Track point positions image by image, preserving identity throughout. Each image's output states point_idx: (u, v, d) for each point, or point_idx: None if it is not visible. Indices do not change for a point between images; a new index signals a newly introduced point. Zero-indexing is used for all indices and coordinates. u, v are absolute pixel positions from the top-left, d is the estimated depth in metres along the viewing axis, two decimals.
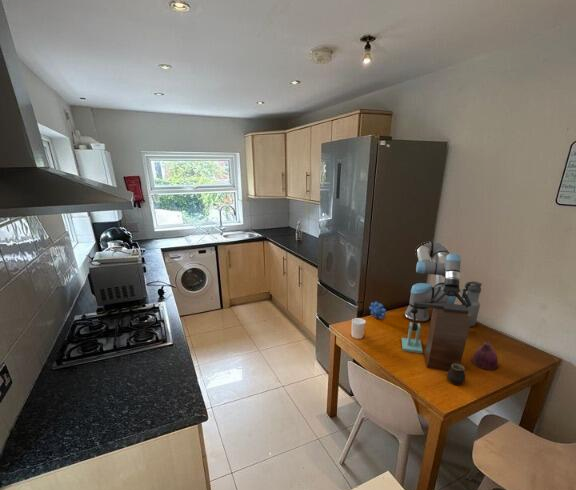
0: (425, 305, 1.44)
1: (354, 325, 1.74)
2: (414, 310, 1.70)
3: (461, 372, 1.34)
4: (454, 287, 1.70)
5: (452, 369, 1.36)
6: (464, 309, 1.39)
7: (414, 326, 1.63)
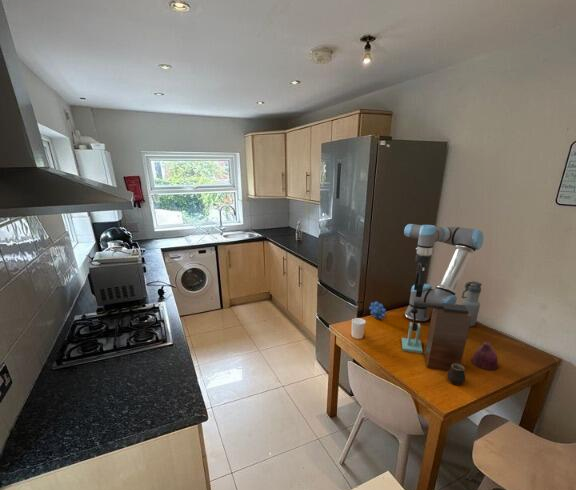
0: (425, 305, 1.44)
1: (354, 325, 1.74)
2: (414, 310, 1.70)
3: (461, 372, 1.34)
4: (420, 263, 1.61)
5: (452, 369, 1.36)
6: (464, 309, 1.39)
7: (414, 326, 1.63)
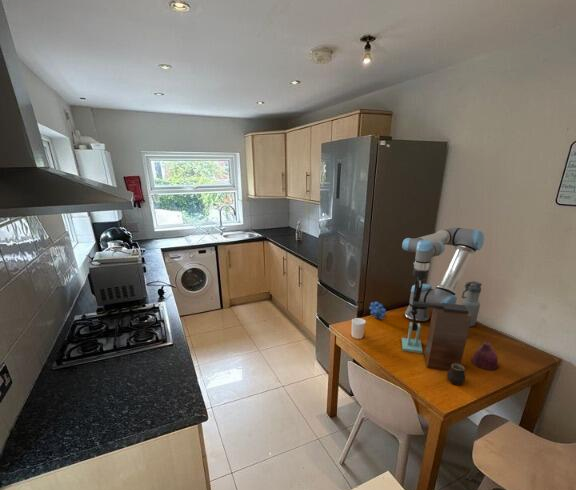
0: (425, 305, 1.44)
1: (354, 325, 1.74)
2: (414, 311, 1.71)
3: (461, 372, 1.34)
4: (417, 277, 1.64)
5: (452, 369, 1.36)
6: (464, 309, 1.39)
7: (414, 326, 1.63)
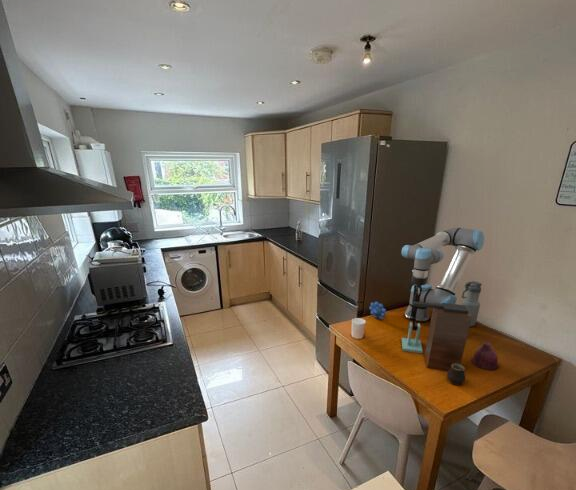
0: (425, 305, 1.44)
1: (354, 325, 1.74)
2: (413, 316, 1.73)
3: (461, 372, 1.34)
4: None
5: (452, 369, 1.36)
6: (464, 309, 1.39)
7: (414, 325, 1.63)
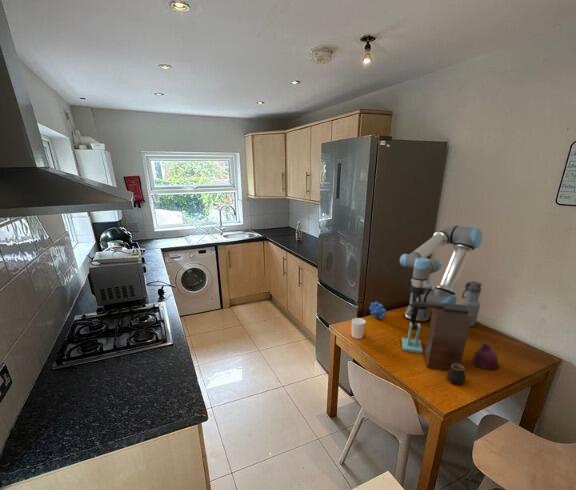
0: (425, 305, 1.44)
1: (354, 325, 1.74)
2: None
3: (461, 372, 1.34)
4: (415, 294, 1.67)
5: (452, 369, 1.36)
6: (464, 309, 1.39)
7: (414, 325, 1.64)
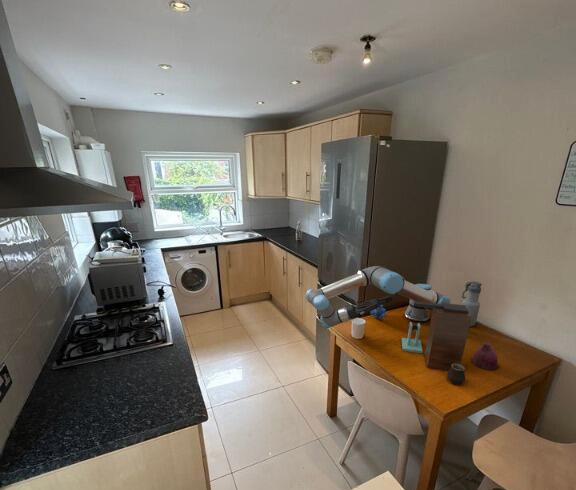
0: (425, 305, 1.44)
1: (354, 325, 1.74)
2: None
3: (461, 372, 1.34)
4: None
5: (452, 369, 1.36)
6: (464, 309, 1.39)
7: (414, 325, 1.64)
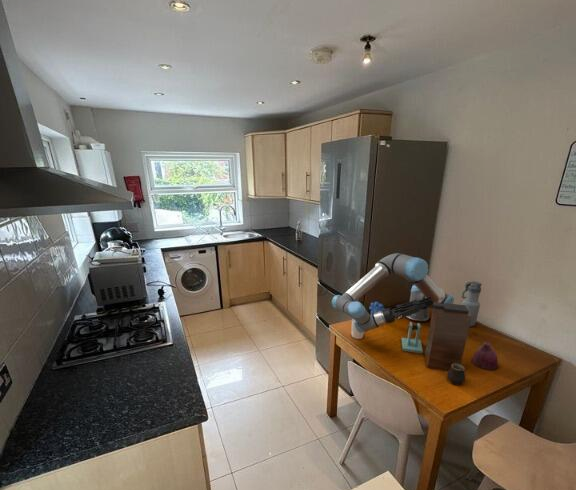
0: None
1: (354, 325, 1.74)
2: None
3: (461, 372, 1.34)
4: None
5: (452, 369, 1.36)
6: (464, 309, 1.39)
7: (414, 325, 1.64)
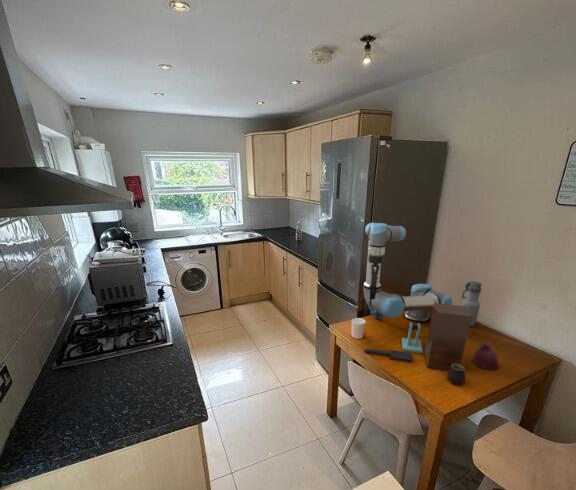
0: (375, 352, 1.60)
1: (354, 325, 1.74)
2: None
3: (461, 372, 1.34)
4: (373, 263, 1.53)
5: (452, 369, 1.36)
6: (408, 357, 1.55)
7: (414, 325, 1.64)
